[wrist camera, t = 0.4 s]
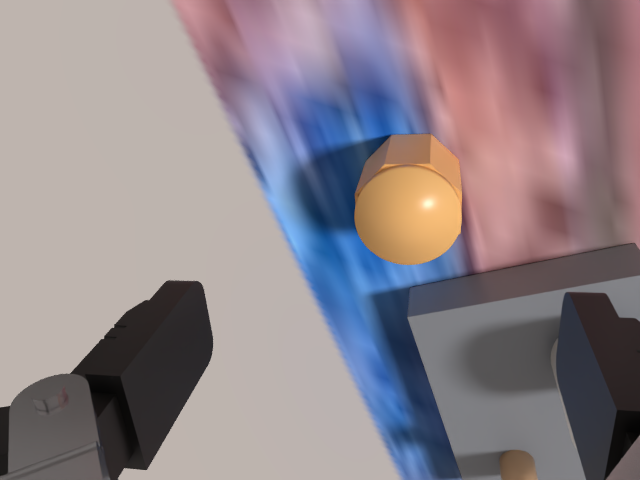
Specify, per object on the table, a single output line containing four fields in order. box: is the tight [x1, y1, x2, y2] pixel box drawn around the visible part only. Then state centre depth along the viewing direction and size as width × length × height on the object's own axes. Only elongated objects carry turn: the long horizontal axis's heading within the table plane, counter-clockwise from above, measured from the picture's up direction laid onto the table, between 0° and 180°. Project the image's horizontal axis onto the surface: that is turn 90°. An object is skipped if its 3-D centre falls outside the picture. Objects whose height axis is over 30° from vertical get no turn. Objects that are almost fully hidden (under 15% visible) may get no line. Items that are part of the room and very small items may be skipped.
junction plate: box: [407, 243, 640, 480], centre depth 30 cm, size 16×12×9 cm
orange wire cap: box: [354, 134, 462, 265], centre depth 28 cm, size 5×5×5 cm
